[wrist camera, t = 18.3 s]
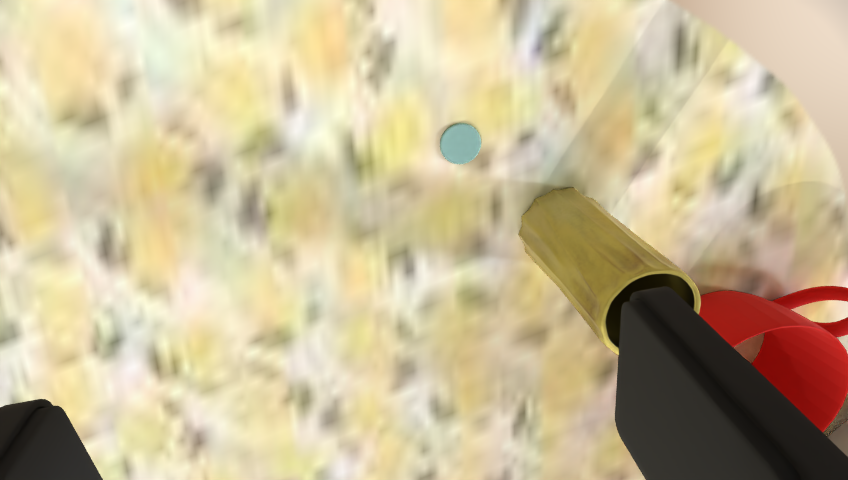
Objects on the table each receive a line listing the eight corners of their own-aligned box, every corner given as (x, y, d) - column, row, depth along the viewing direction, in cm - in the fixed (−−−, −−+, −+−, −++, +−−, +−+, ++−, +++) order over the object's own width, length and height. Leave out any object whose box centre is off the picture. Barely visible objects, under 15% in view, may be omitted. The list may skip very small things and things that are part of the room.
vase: (499, 191, 39) (581, 285, 26) (581, 163, 39) (705, 242, 26) (518, 265, 41) (602, 384, 28) (595, 238, 41) (715, 344, 28)
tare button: (435, 121, 35) (438, 126, 34) (475, 116, 35) (480, 121, 34) (438, 160, 36) (442, 167, 35) (477, 155, 36) (482, 161, 35)
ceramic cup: (813, 305, 49) (923, 373, 40) (654, 413, 51) (723, 502, 42) (759, 199, 44) (871, 250, 35) (585, 325, 46) (646, 404, 37)
